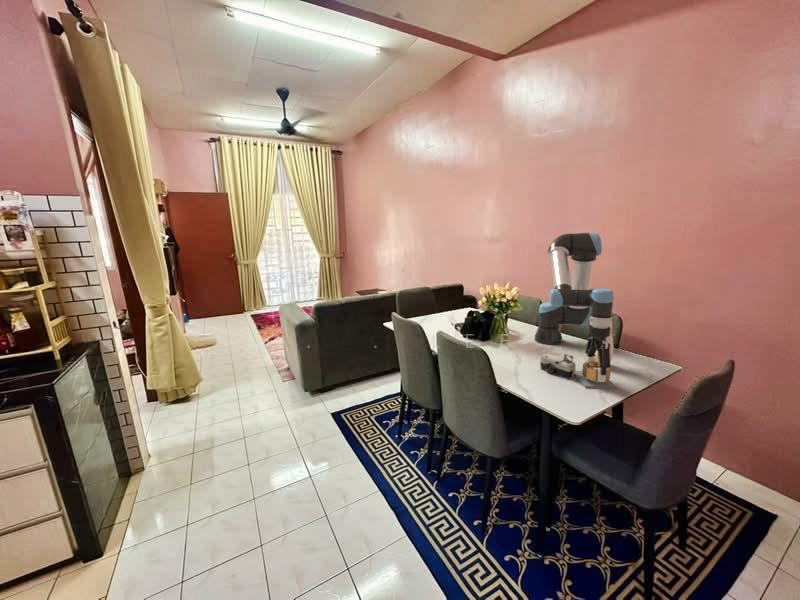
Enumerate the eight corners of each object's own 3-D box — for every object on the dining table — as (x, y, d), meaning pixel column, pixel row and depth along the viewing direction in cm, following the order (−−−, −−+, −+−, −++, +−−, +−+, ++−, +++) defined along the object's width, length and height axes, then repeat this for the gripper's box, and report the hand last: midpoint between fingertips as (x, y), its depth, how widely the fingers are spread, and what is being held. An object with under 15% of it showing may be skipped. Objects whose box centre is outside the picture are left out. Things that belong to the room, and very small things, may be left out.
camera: (537, 369, 155) (538, 349, 153) (547, 365, 158) (548, 346, 156) (566, 381, 142) (568, 359, 140) (577, 376, 146) (578, 355, 144)
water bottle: (616, 370, 150) (621, 311, 145) (594, 369, 152) (599, 311, 146) (607, 361, 160) (612, 306, 154) (587, 360, 162) (591, 306, 156)
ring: (602, 372, 142) (603, 361, 141) (613, 381, 133) (614, 370, 132) (579, 371, 144) (580, 361, 143) (588, 381, 134) (589, 370, 133)
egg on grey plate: (571, 372, 149) (572, 360, 148) (598, 373, 148) (599, 360, 147) (585, 387, 135) (586, 374, 134) (616, 388, 133) (617, 374, 132)
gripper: (579, 319, 145) (575, 365, 150) (603, 334, 124) (598, 388, 128) (596, 318, 144) (593, 365, 149) (624, 334, 123) (618, 388, 127)
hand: (595, 376), depth 138 cm, fingers closed on ring, 10 cm apart
